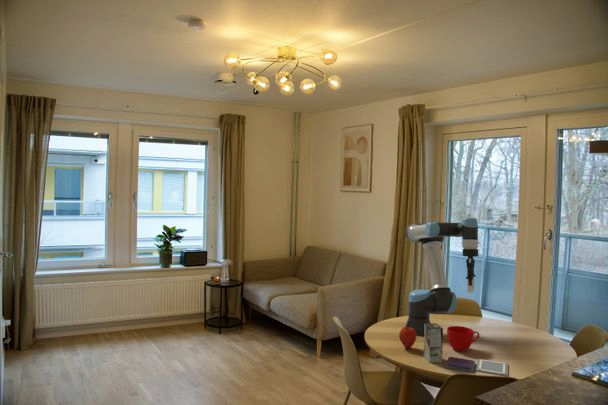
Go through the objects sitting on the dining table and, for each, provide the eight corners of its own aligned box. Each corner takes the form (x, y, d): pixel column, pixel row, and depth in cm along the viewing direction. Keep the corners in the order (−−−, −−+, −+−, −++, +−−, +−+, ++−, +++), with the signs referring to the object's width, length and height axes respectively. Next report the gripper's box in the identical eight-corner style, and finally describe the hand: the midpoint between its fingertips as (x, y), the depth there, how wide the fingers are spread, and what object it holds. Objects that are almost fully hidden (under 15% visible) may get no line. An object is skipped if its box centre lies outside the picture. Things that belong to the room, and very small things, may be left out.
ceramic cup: (485, 352, 237) (486, 333, 237) (453, 354, 234) (454, 334, 234) (472, 344, 250) (472, 325, 250) (442, 345, 247) (442, 326, 247)
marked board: (475, 371, 213) (476, 369, 213) (478, 360, 227) (478, 358, 227) (507, 376, 208) (507, 374, 208) (507, 364, 221) (507, 363, 221)
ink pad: (445, 368, 216) (445, 364, 216) (448, 359, 227) (448, 355, 227) (473, 372, 211) (473, 368, 211) (475, 363, 222) (475, 359, 222)
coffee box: (442, 362, 222) (443, 328, 222) (429, 362, 222) (430, 328, 221) (435, 355, 232) (436, 323, 231) (422, 355, 231) (423, 323, 231)
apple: (397, 349, 239) (398, 328, 239) (400, 344, 247) (401, 323, 247) (414, 352, 236) (415, 330, 236) (417, 346, 244) (417, 325, 244)
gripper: (477, 249, 227) (478, 294, 225) (478, 248, 250) (479, 288, 249) (460, 248, 230) (461, 293, 228) (463, 247, 253) (464, 288, 251)
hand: (471, 291), depth 238 cm, fingers open, 13 cm apart
